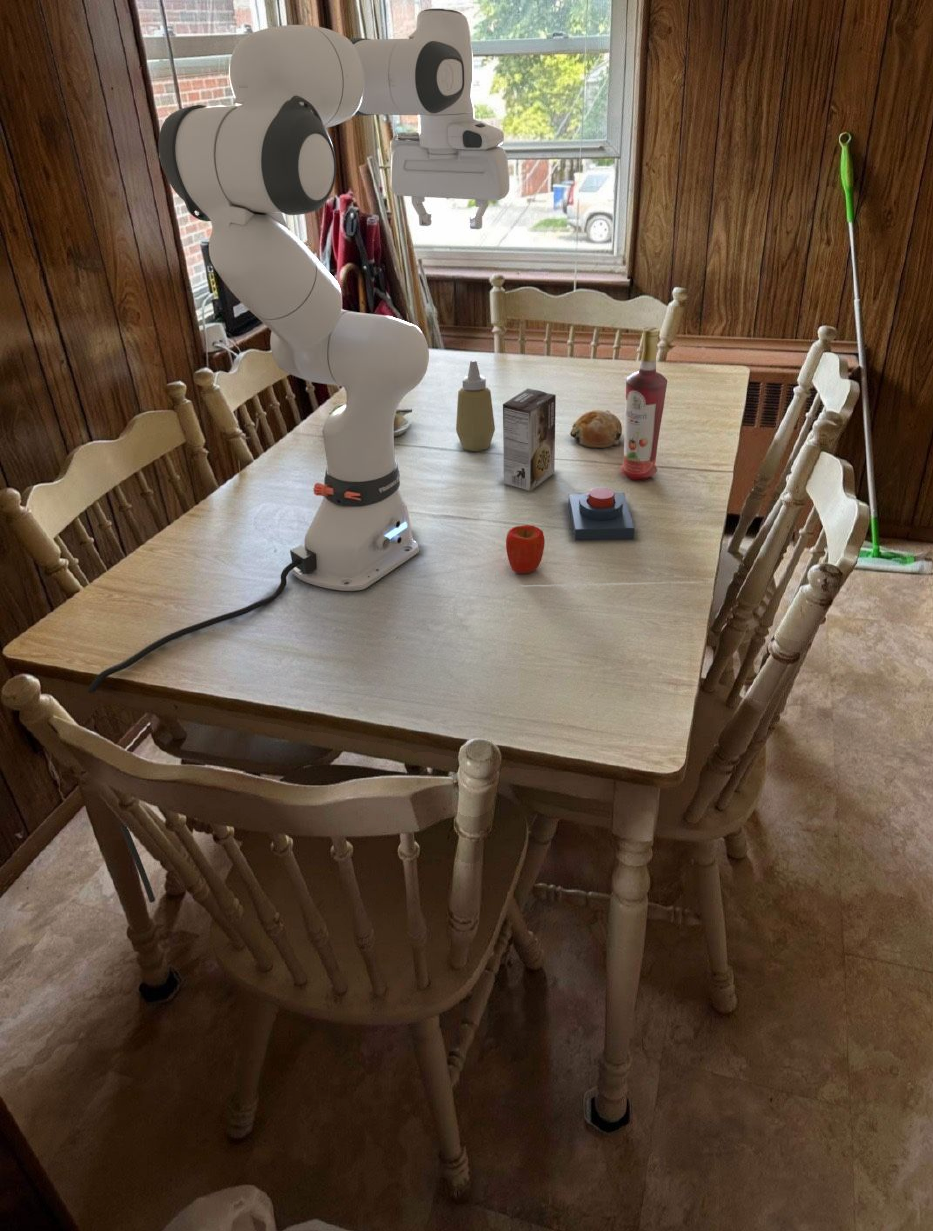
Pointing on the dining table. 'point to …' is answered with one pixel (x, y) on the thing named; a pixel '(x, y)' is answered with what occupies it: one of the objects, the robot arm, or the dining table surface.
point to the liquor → (643, 412)
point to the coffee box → (529, 438)
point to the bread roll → (597, 429)
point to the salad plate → (397, 420)
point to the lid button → (601, 497)
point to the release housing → (600, 519)
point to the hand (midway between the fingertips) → (450, 227)
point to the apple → (525, 548)
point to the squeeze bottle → (474, 411)
